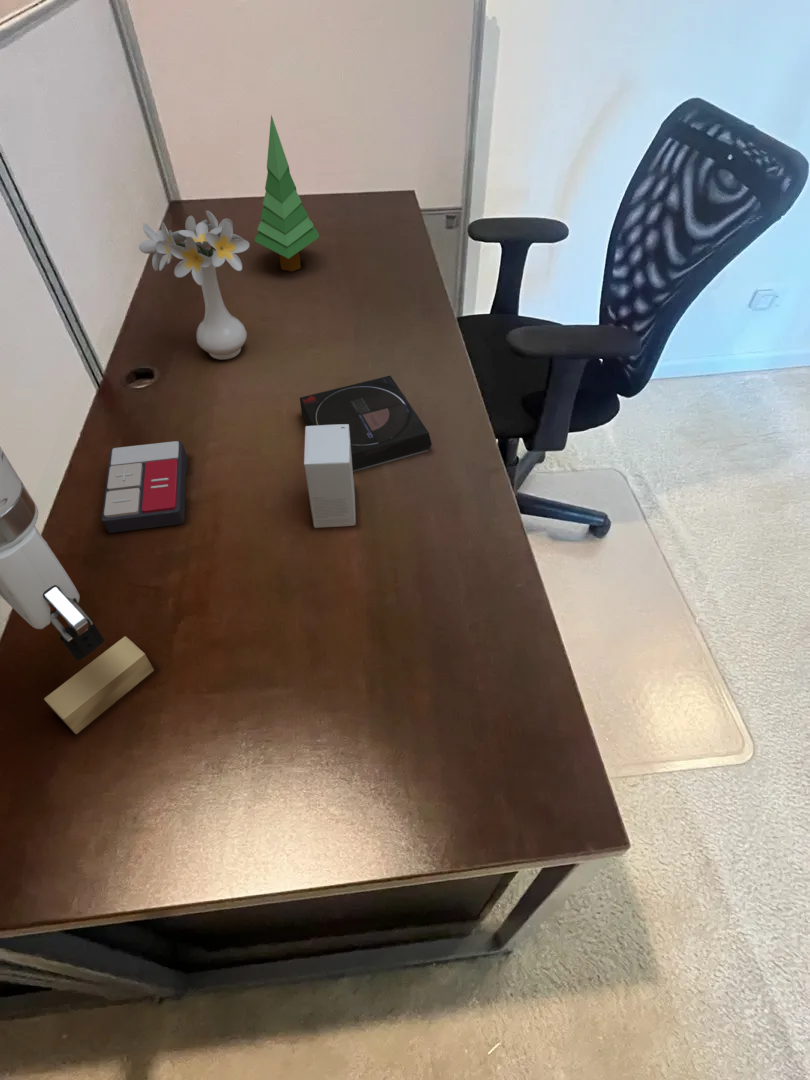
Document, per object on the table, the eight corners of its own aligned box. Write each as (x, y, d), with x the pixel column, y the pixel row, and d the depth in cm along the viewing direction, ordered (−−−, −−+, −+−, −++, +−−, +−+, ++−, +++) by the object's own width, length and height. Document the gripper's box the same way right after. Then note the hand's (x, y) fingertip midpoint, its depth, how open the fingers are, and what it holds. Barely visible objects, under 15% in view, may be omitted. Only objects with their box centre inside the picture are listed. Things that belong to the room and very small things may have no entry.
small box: (313, 490, 104) (304, 424, 94) (354, 488, 104) (349, 422, 94) (312, 529, 99) (302, 464, 89) (355, 527, 99) (350, 461, 89)
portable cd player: (431, 450, 110) (432, 431, 107) (332, 477, 106) (330, 459, 103) (393, 393, 120) (393, 374, 117) (302, 416, 116) (299, 397, 113)
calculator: (98, 517, 95) (108, 444, 104) (109, 536, 98) (117, 463, 107) (178, 508, 96) (181, 436, 105) (185, 526, 100) (187, 455, 109)
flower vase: (183, 331, 133) (146, 200, 114) (275, 334, 132) (253, 204, 113) (163, 370, 124) (120, 236, 105) (261, 374, 124) (236, 239, 105)
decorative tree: (319, 247, 156) (305, 99, 133) (323, 281, 146) (308, 127, 123) (260, 251, 155) (236, 102, 132) (260, 285, 144) (233, 130, 122)
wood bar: (76, 735, 78) (63, 719, 75) (57, 714, 79) (43, 698, 76) (154, 670, 83) (145, 653, 80) (135, 652, 85) (125, 635, 82)
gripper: (-105, 492, 59) (-12, 604, 72) (-5, 591, 52) (78, 697, 65) (-24, 448, 63) (50, 562, 76) (80, 535, 56) (143, 645, 69)
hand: (63, 624), depth 70 cm, fingers open, 9 cm apart
